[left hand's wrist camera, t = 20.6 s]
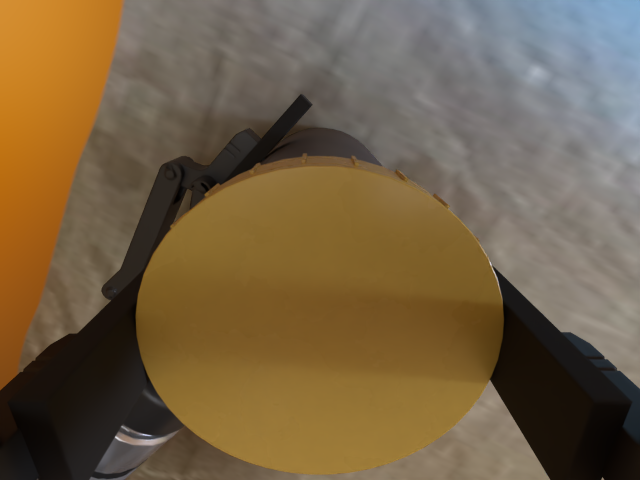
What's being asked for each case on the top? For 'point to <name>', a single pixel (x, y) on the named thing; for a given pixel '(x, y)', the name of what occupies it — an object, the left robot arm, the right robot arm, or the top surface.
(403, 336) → the lid
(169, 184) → the right robot arm
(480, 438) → the top surface
